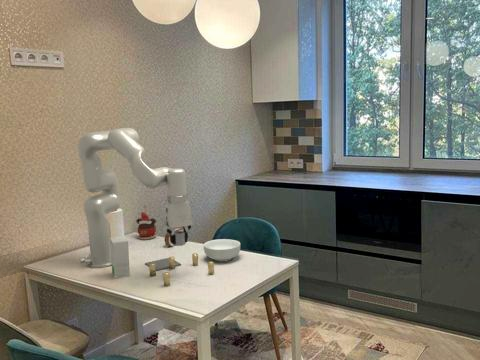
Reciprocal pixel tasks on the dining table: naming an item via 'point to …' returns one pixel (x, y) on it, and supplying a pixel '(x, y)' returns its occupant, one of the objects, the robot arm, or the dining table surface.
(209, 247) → the cereal bowl
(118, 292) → the dining table surface
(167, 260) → the mat
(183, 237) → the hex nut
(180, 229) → the tin
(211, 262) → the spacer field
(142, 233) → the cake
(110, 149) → the robot arm
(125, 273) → the skincare box
